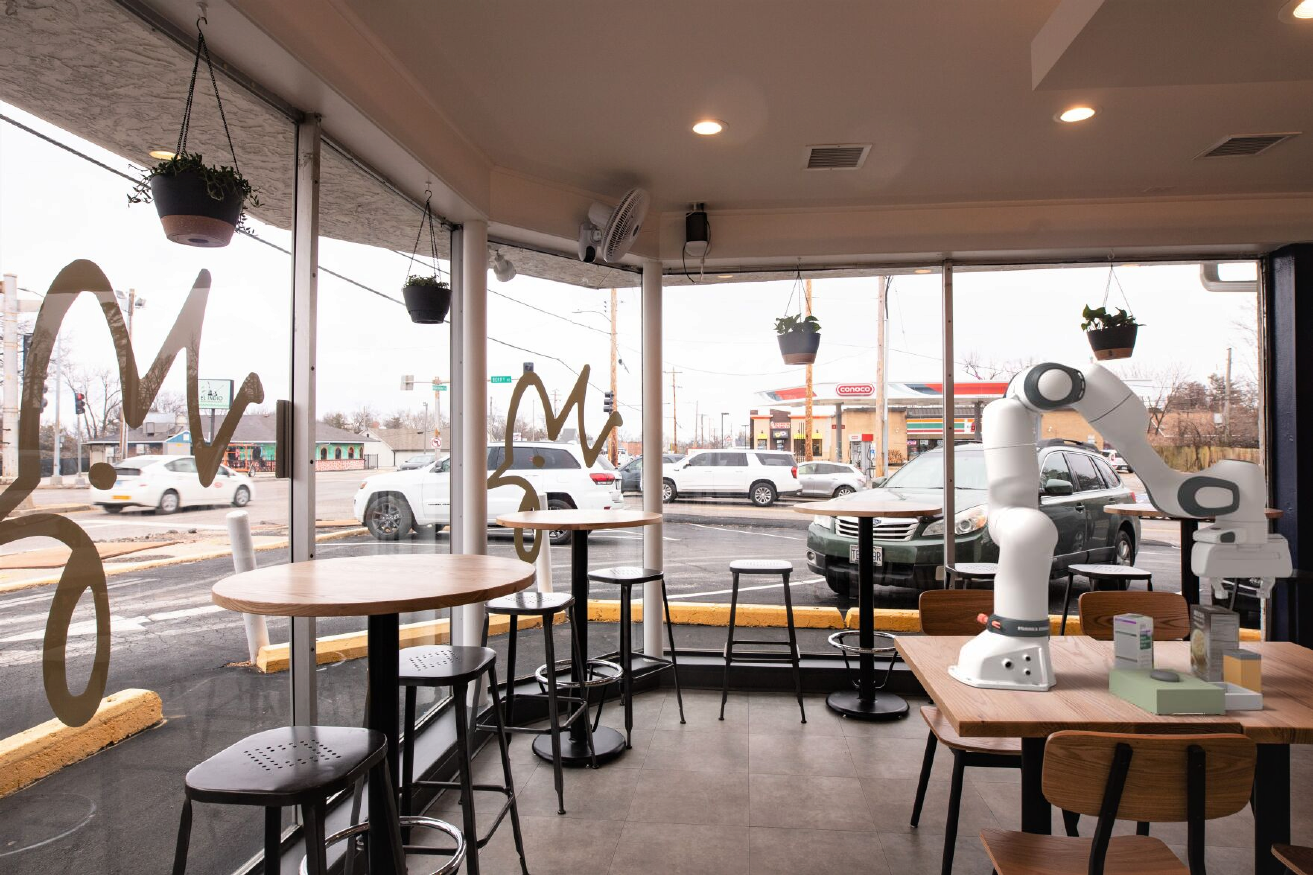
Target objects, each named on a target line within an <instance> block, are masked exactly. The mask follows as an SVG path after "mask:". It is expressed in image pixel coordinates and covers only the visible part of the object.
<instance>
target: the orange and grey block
mask: <svg viewBox="0 0 1313 875" xmlns="http://www.w3.org/2000/svg"><path fill="white" fill-rule="evenodd" d="M1223 654H1224V682H1229V683H1232V684H1235V685H1237V686H1240V687H1243V688H1246V689H1248V690H1251V691H1254V692H1256V693H1259V694H1262V654H1261V653H1258V652H1255V651H1252V650H1249V649H1245V648H1239V649H1223Z"/></svg>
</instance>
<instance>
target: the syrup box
mask: <svg viewBox="0 0 1313 875" xmlns="http://www.w3.org/2000/svg"><path fill="white" fill-rule="evenodd" d="M1154 646H1155V645H1154V618H1153V617H1151V616H1148V615H1143V614H1137V613H1125V614H1123V613H1122V614H1119V615H1118V614H1117V615H1116V614H1115V615H1113V651H1114V652H1113V654H1114V655H1113V656H1114V658H1113V659H1114V661H1113V662H1114V669H1155V654H1154V653H1155V651H1154V648H1155V647H1154Z"/></svg>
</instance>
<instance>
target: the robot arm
mask: <svg viewBox="0 0 1313 875" xmlns="http://www.w3.org/2000/svg"><path fill="white" fill-rule="evenodd" d="M1067 406H1068V407H1069V408H1072V409H1074V410H1075V411H1076V412H1078V413H1079V414H1080V416H1081V417H1082V418H1083V419H1084V420H1085V421H1086V422H1087V423H1088V424H1089V425H1090V426H1091V427H1092V429H1093V430H1094V431H1095V432H1096V433H1098V435H1100V437H1102V439H1103V440H1105V442H1107V443H1108V444H1109V445H1110V446H1111V447H1112V448H1113V449H1114V451H1116V452H1117V454H1118V456H1120V458H1121V459H1122V460H1123V461H1124V462H1125V464H1126V465H1127V466H1128V467H1129V469H1131V471H1132V472H1133V474H1134V475H1136V476H1137V478H1138V479H1139V480H1140V482H1141V484H1142V485H1143V487H1144V489H1145V492H1146V495H1147V498H1148V500H1149V503H1150V504H1151V505H1152V507H1153V508H1154V509H1155V511H1158V513H1160V514H1162V515H1164V516H1167V517H1178V518H1179V517H1184V518H1191V519H1192V518H1194V519H1207V518H1213V517H1215V523H1214V524H1211V525H1208V526H1206V527H1203V528H1200V529H1197V530H1195V531H1193V533H1192V539H1193V541H1195V543H1194V544H1193V546H1192V549H1191V558H1190V559H1191V560H1190V562H1191V571H1192V572H1193V575H1195V576H1197V577H1200V578H1206V579H1208V578H1209V583H1210V585H1211V586H1212V587H1213V589H1214V596H1215V598H1216V599H1220V600H1224V599H1228V598H1229V595H1228V594H1229V590H1225V589H1224V587H1223V585H1222V584H1223V583H1224V578H1227V579H1228V578H1231V579H1232V578H1237V579H1239V578H1241V579H1242V578H1249V579H1250V578H1260V581H1261V582H1262V583H1261V585H1260V587H1259V588H1256V591H1255V592H1256V597H1257V598H1260V599H1270V597H1271V590H1272V588H1273V587H1274V586H1275V583H1276V578H1289V577H1290V576H1291V575H1292V573H1293V564H1292V556H1291V553H1290V548H1289V542H1288V539H1287V538H1286V537H1285V536H1283V535H1282V534H1281V533H1268V517H1267V516H1266V512H1265V509H1266V504H1267V502H1268V496H1267V494H1268V493H1267V482H1266V477H1265V473H1264V470H1263V468H1262V467H1261V466H1262V465H1260V464H1258V463H1256V462H1253V461H1250V460H1246V459H1235V458H1222V459H1219V460H1218V461H1217V462H1215V463H1214V464H1212V465H1211V466H1209V467H1207V468H1204V469H1202V470H1199V471H1196V472H1193V473H1182V472H1179V471H1176V470H1175V469H1173V468H1171V467H1170V466H1169V465H1168V464H1167V463H1166V462H1165V461H1164V459H1163V458H1162V457H1161V455H1159V453H1158V452H1157V451H1156V450H1155V449H1154V448H1153V446H1151V444H1150V442H1149V441H1148V439H1147V436H1146V432H1147V431H1148V428H1149V426H1150V423H1151V413H1150V412H1149V409H1148V408H1147V406H1146V405H1145V403H1144V402H1143V401H1142V399H1141V398H1140V397H1139V396H1138V395H1137V394H1136V393H1135V392H1134V391H1133V390H1132V389H1131V387H1129V386H1128V385H1127V384H1126V383H1125V382H1124V381H1123V380H1122V379H1120V378H1119V376H1117V375H1116V374H1115V373H1113V372H1112V371H1110V370H1109V369H1107V368H1106V367H1105V366H1103V365H1101V364H1100V363H1097V362H1088V363H1082V364H1081V365H1079V366H1077V367H1075V368H1074V367H1070V366H1068V365H1064V364H1061V363H1058V362H1051V361H1050V362H1042V363H1039V364H1033V365H1030V366H1027V367H1026V368H1024V369H1022V370H1020V371H1018V372H1016V373H1015V375H1013V377H1012V378H1010V381H1009V382H1008V384H1007V387H1006V389H1005V391H1004V394H1003V396H1002V397H1001V398H999V399H996V400H993V401H991V402H989V403H988V404H986V406H985V407H984V408H983V411H982V414H981V415H982V416H981V417H982V419H981V443H982V448H983V458H984V464H985V465H984V466H985V474H986V479H987V523H988V524H987V528H988V533H989V536H990V538H991V539H992V541H993V542H994V543H995V544H996V545H997V546H998V547H999V557H998V563H997V569H996V572H995V575H994V579H993V585H994V586H993V587H994V588H993V612H992V614H991V615H990V616H988V615H986V614H984V613H979V614H978V616H977V621H978V622H979V623H981V624H984V625H986V629H985V630H983V631H982V632H980V633H979V634H978V635H977V636H975V637H973V638H972V639H971V640H969V641H968V642H967V643H964V644H963V645H962V646H961V649H960V652H959V656H958V663H957V665H956V664H955V665H949V666H948V668H947V672H948V674H949V675H950V676H951V677H952V678H953V679H955V680H957V681H959V682H961V683H963V684H966V685H969V686H972V687H975V688H980V689H981V688H983V689H1001V690H1003V689H1005V690H1021V691H1023V690H1024V691H1036V692H1037V691H1038V692H1039V691H1041V692H1046V691H1049V690H1050V687H1053V686H1055V685H1056V684H1057V679H1056V676H1055V674H1054V669H1053V666H1052V659H1051V653H1050V641H1051V640H1050V638H1051V619H1050V617H1049V581H1050V574H1051V570H1052V564H1053V558H1054V554H1055V553H1054V551H1055V548H1056V546H1057V543H1058V541H1059V532H1058V528H1057V526H1056V525H1055V523H1054V522H1053V520H1052V519H1051V518H1050V517H1049V516H1048V515H1047V514H1046V513H1044V512H1042V511H1041V510H1039V489H1040V488H1039V487H1040V481H1041V471H1040V465H1039V458H1038V449H1037V443H1036V435H1035V432H1034V429H1035V423H1036V419H1037V417H1038V415H1039V414H1045V413H1049V412H1053V411H1057V410H1060V409H1063V408H1066V407H1067Z"/></svg>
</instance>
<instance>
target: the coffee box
mask: <svg viewBox="0 0 1313 875" xmlns="http://www.w3.org/2000/svg"><path fill="white" fill-rule="evenodd" d="M1189 612H1190V613H1189V617H1190V623H1189V624H1190V636H1189V637H1190V642H1189V643H1190V646H1189V647H1190V649H1189V650H1190V657H1189V658H1190V659H1189V661H1190V666H1189V667H1190V672H1191V673H1192V674H1194V675H1196V676H1198V677H1199V678H1201V679H1203V681H1205V682H1224V654H1223V649H1240V613H1239V612H1236V611H1233V610H1231V609H1229V608H1226V607H1223V606H1221V605H1219V604H1218V605H1216V604H1215V605H1213V604H1212V605H1210V604H1190V611H1189Z"/></svg>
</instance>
